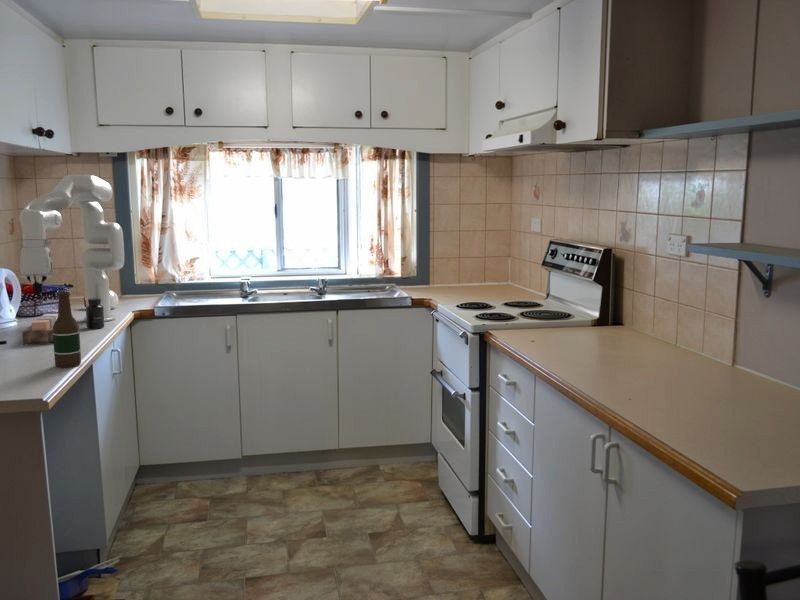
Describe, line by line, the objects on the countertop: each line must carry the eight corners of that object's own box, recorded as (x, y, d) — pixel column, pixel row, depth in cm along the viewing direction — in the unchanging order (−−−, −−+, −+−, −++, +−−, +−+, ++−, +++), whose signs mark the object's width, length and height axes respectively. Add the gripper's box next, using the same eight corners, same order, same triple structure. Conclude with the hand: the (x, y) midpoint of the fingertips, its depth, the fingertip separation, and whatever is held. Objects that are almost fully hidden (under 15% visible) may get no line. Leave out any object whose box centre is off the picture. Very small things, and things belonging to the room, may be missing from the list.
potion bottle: (120, 312, 339) (87, 316, 337) (122, 298, 346) (90, 302, 344) (114, 298, 332) (81, 302, 330) (116, 284, 339) (84, 288, 337)
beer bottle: (49, 367, 226) (44, 293, 222) (65, 362, 234) (60, 289, 230) (71, 368, 225) (66, 294, 221) (86, 363, 232) (82, 290, 229)
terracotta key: (35, 330, 266) (35, 320, 265) (50, 330, 267) (49, 319, 266) (32, 333, 261) (31, 322, 260) (46, 332, 262) (46, 322, 261)
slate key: (40, 327, 272) (40, 317, 272) (55, 326, 273) (54, 316, 273) (37, 329, 268) (36, 319, 267) (51, 329, 269) (51, 318, 268)
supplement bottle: (98, 329, 288) (96, 300, 287) (83, 329, 290) (81, 299, 288) (108, 326, 295) (106, 298, 293) (93, 325, 296) (91, 297, 295)
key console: (23, 344, 260) (22, 331, 259) (38, 333, 280) (37, 321, 279) (55, 343, 262) (54, 330, 261) (68, 332, 282) (68, 320, 282)
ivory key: (45, 324, 279) (45, 314, 278) (59, 323, 280) (58, 313, 280) (42, 326, 274) (41, 316, 274) (56, 325, 275) (55, 315, 275)
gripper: (59, 243, 264) (62, 292, 267) (15, 243, 261) (19, 293, 263) (54, 244, 257) (57, 294, 259) (9, 245, 253) (12, 295, 256)
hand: (38, 293), depth 261 cm, fingers closed
